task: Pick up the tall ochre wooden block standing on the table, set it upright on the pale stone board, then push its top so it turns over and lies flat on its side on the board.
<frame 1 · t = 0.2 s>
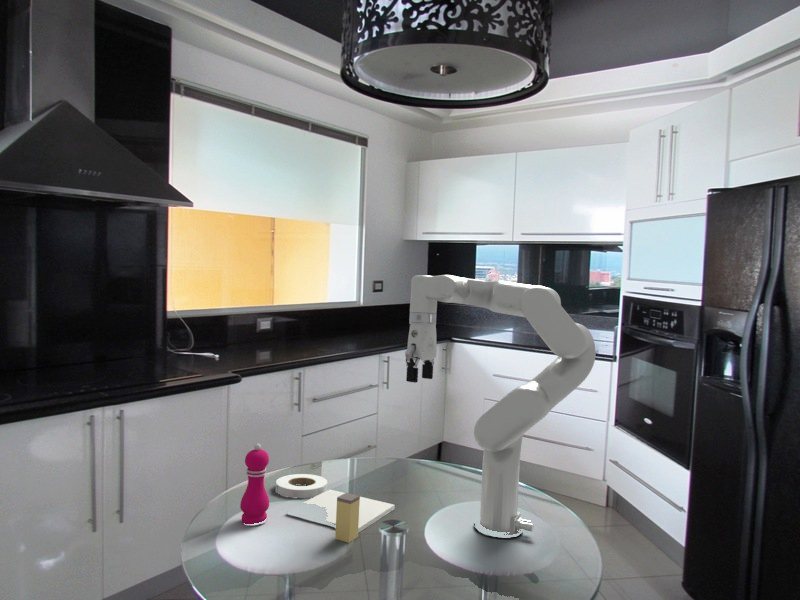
hand: (419, 380, 153), 36 cm above the table, tool pointing down, fingers open, 9 cm apart
board: (341, 511, 149), on the table
block: (346, 537, 132), on the table
object: (301, 491, 165), on the table
pepper mill: (254, 522, 140), on the table
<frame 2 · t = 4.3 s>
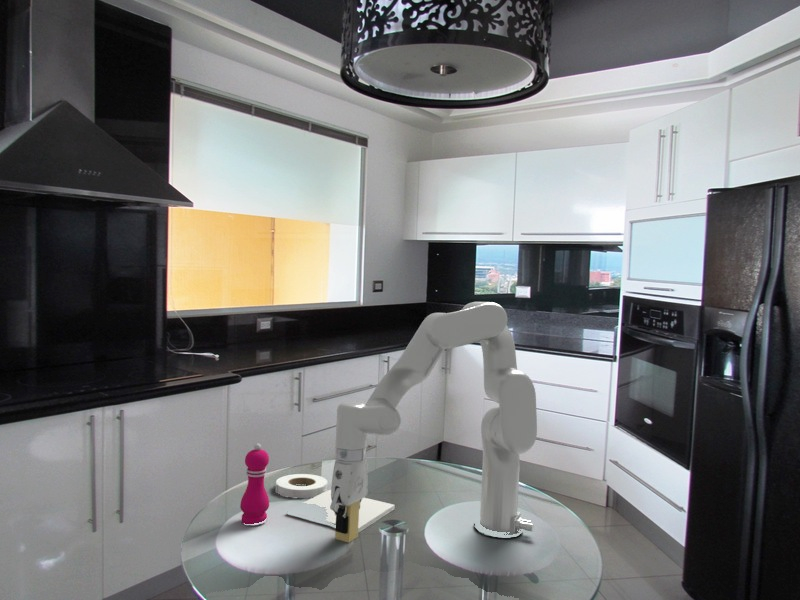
hand: (346, 528, 133), 2 cm above the table, tool pointing down, fingers closed on block, 4 cm apart
block: (346, 537, 132), on the table, touching gripper
everything else where it was.
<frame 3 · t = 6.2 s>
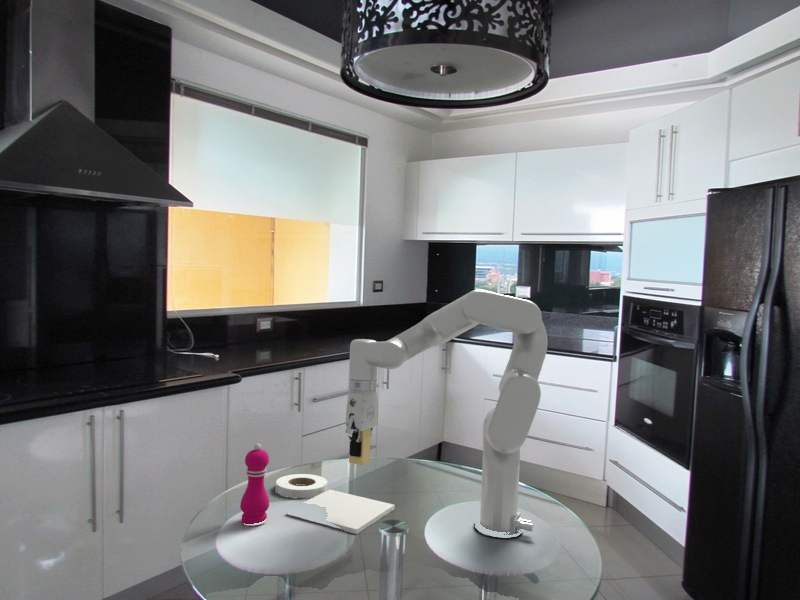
hand: (359, 453, 145), 17 cm above the table, tool pointing down, fingers closed on block, 4 cm apart
block: (359, 462, 145), point 15 cm above the table, touching gripper
everything else where it was.
when the fingers open (4 cm above the table, at t = 8.5 s): block stays where it is, resting on board.
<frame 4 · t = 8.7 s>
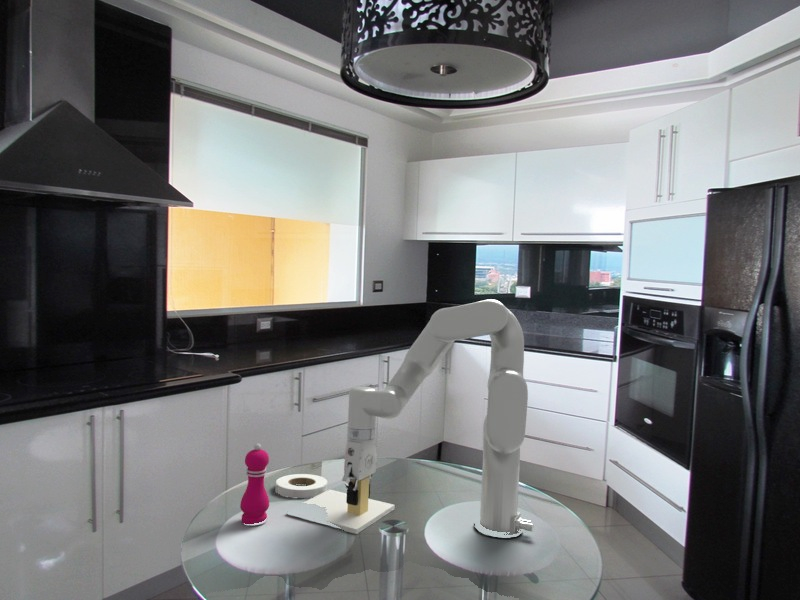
hand: (358, 500, 146), 4 cm above the table, tool pointing down, fingers open, 5 cm apart
block: (357, 511, 146), point 1 cm above the table, touching board
everything else where it was.
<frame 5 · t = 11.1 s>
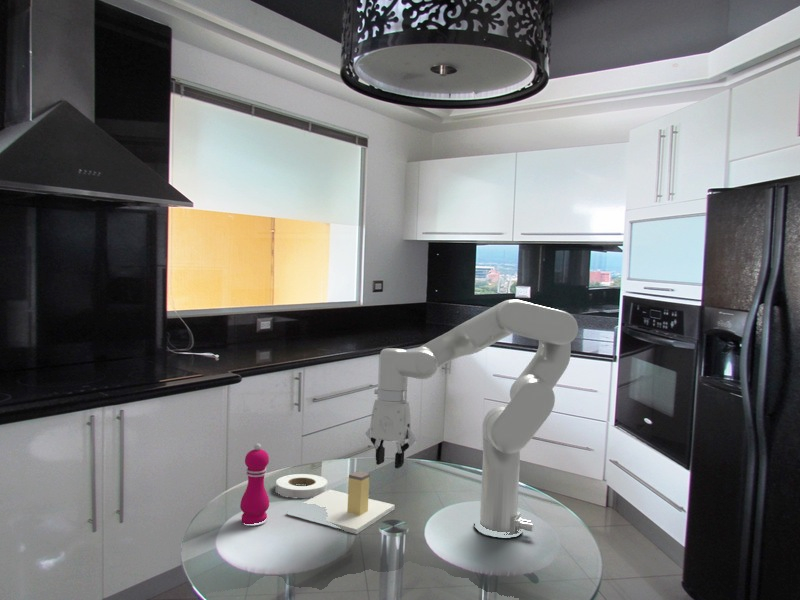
hand: (389, 464, 142), 15 cm above the table, tool pointing down, fingers open, 4 cm apart
nothing on the table moved.
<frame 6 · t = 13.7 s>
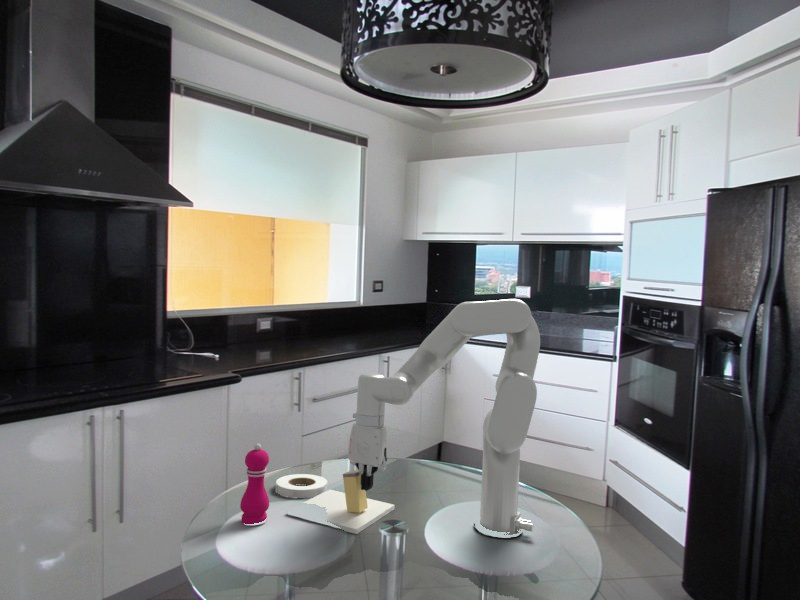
hand: (366, 488, 145), 8 cm above the table, tool pointing down, fingers closed
block: (357, 510, 146), point 2 cm above the table, tilted 12°, touching board
everything else where it was.
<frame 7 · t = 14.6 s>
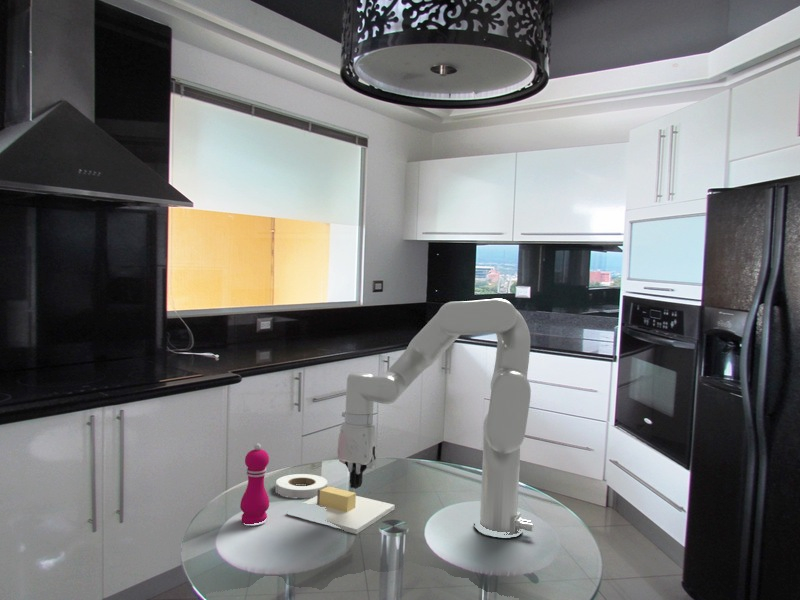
hand: (355, 486, 147), 8 cm above the table, tool pointing down, fingers closed
block: (351, 502, 147), point 3 cm above the table, tilted 90°, touching board
everything else where it was.
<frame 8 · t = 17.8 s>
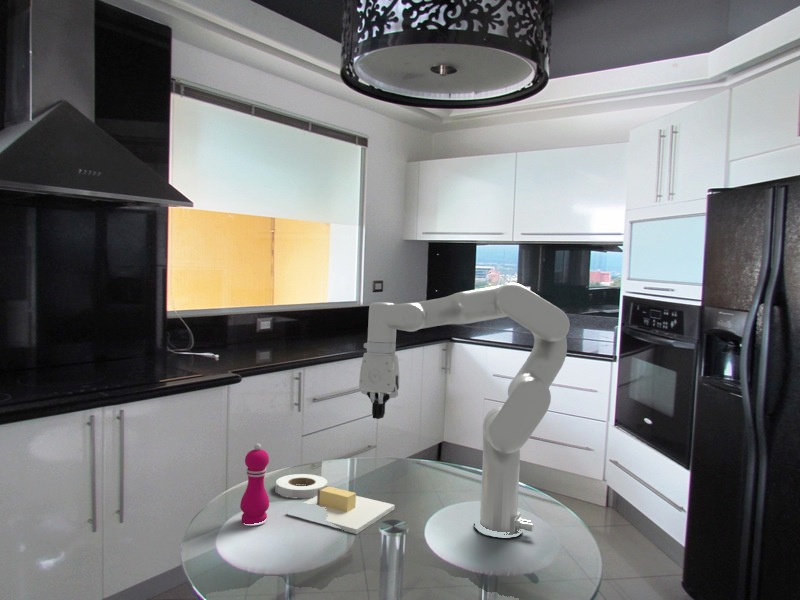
hand: (378, 417, 144), 27 cm above the table, tool pointing down, fingers closed
nothing on the table moved.
at the end: block tilted 90°; block inside the target area (3.0 cm from its centre), point 3.2 cm above the table; the gripper is holding nothing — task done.
